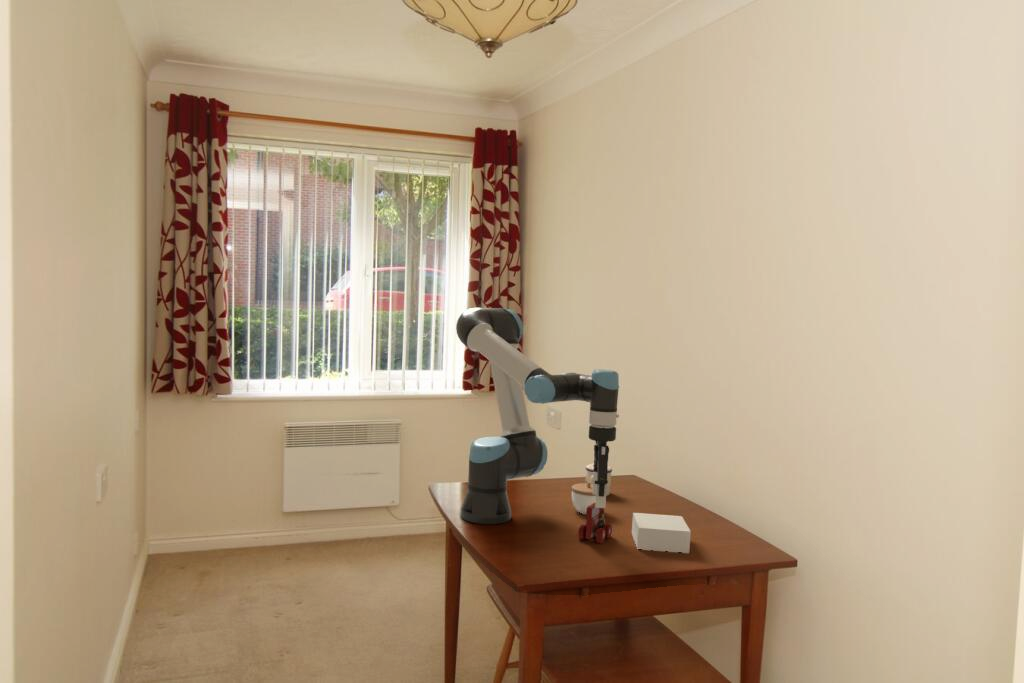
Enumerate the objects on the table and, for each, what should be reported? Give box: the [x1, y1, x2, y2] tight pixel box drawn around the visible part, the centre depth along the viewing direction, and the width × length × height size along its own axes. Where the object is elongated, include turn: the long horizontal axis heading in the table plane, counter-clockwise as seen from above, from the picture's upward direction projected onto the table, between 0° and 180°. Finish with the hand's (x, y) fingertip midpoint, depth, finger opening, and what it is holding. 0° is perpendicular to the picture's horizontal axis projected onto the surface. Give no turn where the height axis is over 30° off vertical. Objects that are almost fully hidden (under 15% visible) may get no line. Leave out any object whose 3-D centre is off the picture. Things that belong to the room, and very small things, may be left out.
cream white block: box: [631, 512, 692, 554], centre depth 210 cm, size 14×14×6 cm
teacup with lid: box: [584, 462, 613, 497], centre depth 257 cm, size 12×9×12 cm
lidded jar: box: [571, 482, 596, 515], centre depth 235 cm, size 11×11×9 cm
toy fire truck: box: [577, 503, 613, 544], centre depth 210 cm, size 7×12×10 cm, turn 153°
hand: (598, 500), depth 210 cm, fingers open, 13 cm apart
